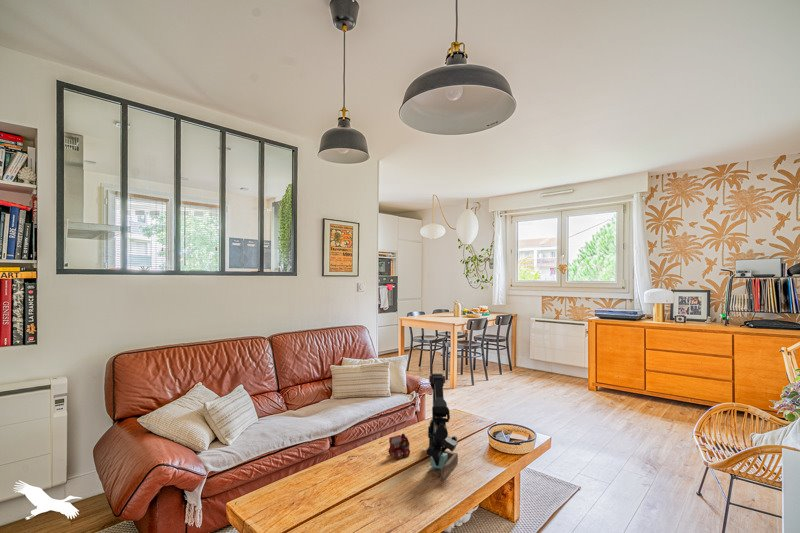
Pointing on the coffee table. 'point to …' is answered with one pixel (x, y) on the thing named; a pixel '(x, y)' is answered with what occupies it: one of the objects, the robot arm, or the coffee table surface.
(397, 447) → the toy fire truck
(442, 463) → the teal and white block
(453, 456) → the l-shaped wooden block
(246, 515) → the coffee table surface
